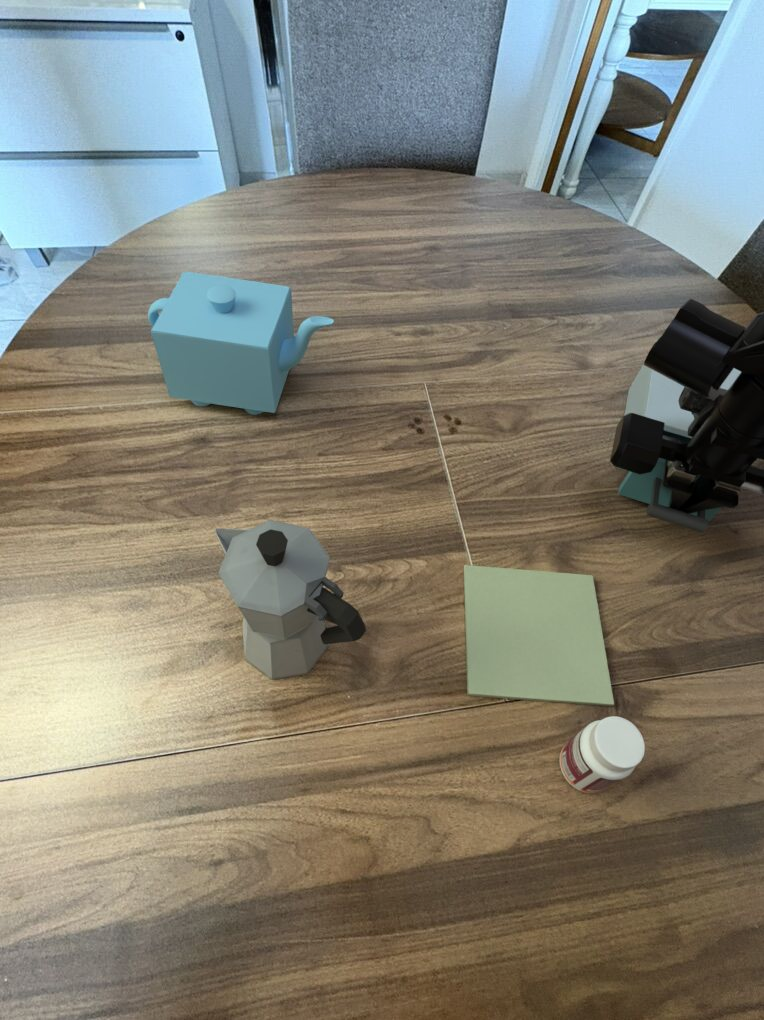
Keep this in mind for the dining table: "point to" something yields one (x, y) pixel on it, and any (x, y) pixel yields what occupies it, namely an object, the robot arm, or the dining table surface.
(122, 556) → the dining table surface
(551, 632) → the mat
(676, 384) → the pale grey hollow box
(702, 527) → the drawer
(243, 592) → the coffee maker
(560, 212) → the dining table surface
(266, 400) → the teapot
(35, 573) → the dining table surface
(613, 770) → the pill bottle
